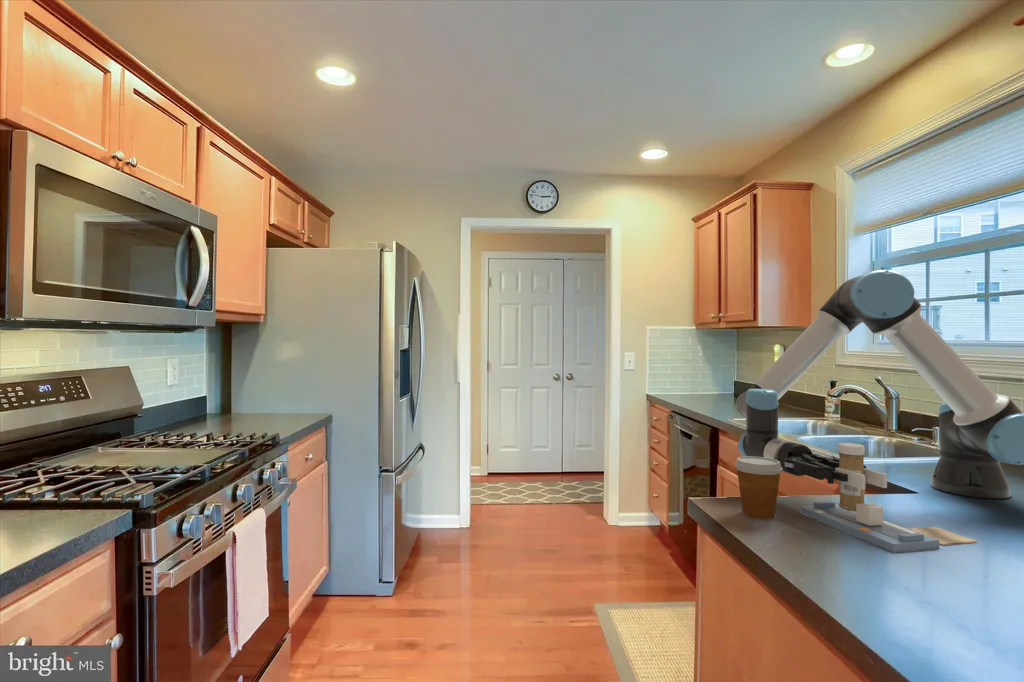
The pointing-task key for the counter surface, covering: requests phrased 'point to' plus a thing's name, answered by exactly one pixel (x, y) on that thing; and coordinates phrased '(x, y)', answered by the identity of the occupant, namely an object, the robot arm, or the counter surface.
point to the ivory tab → (869, 514)
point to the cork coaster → (943, 536)
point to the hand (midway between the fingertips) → (874, 481)
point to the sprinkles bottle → (852, 461)
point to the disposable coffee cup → (758, 485)
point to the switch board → (870, 529)
